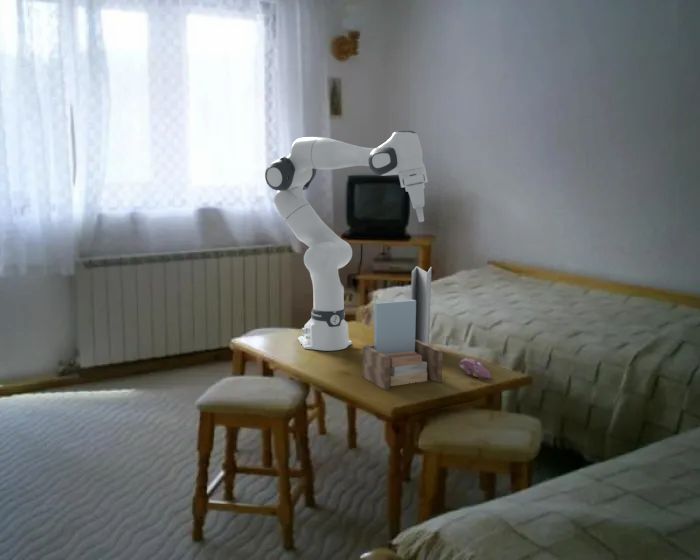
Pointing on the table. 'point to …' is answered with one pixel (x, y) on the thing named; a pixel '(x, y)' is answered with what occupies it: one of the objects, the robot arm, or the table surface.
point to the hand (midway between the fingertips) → (421, 221)
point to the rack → (379, 364)
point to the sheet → (395, 326)
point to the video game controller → (474, 368)
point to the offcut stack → (407, 368)
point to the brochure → (421, 302)
